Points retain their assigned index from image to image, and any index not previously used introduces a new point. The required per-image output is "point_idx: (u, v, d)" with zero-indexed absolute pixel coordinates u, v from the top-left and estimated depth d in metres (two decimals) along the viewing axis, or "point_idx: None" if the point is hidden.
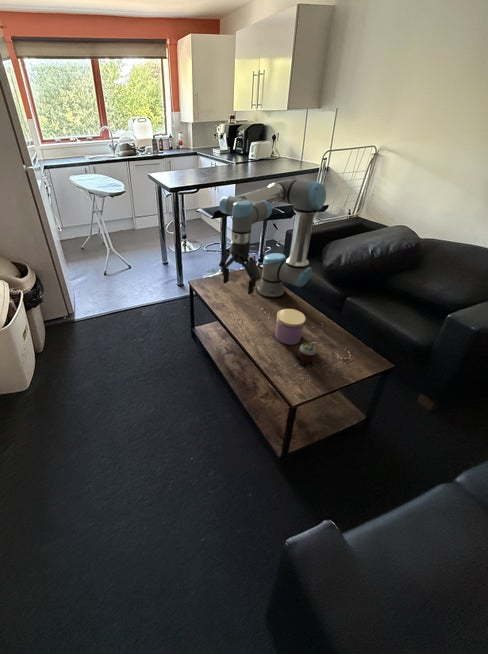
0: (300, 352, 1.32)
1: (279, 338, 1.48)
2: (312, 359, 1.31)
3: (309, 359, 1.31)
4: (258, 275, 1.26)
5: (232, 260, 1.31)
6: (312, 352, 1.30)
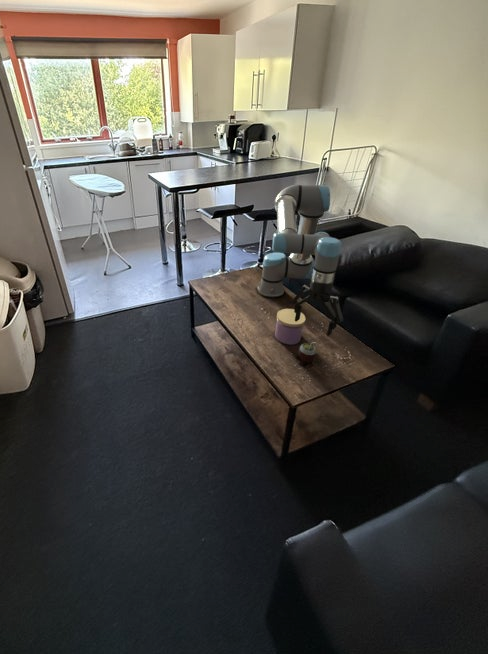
0: (300, 352, 1.32)
1: (279, 338, 1.48)
2: (312, 359, 1.31)
3: (309, 359, 1.31)
4: (341, 317, 1.16)
5: None
6: (312, 352, 1.30)
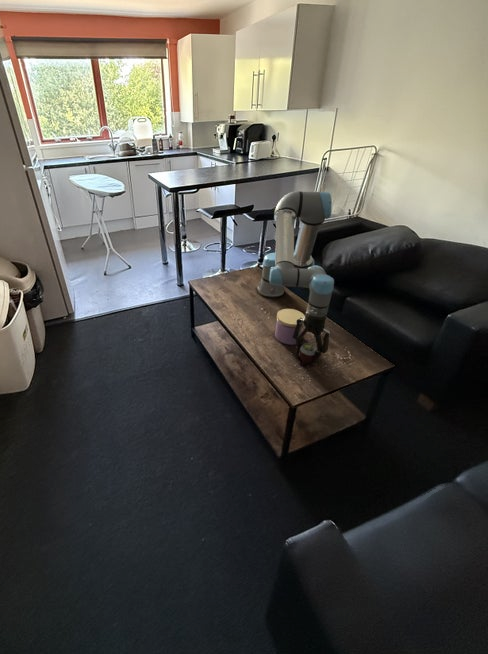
0: (300, 352, 1.32)
1: (279, 338, 1.48)
2: (313, 359, 1.31)
3: (310, 359, 1.31)
4: (327, 348, 1.26)
5: (306, 331, 1.27)
6: (313, 352, 1.30)
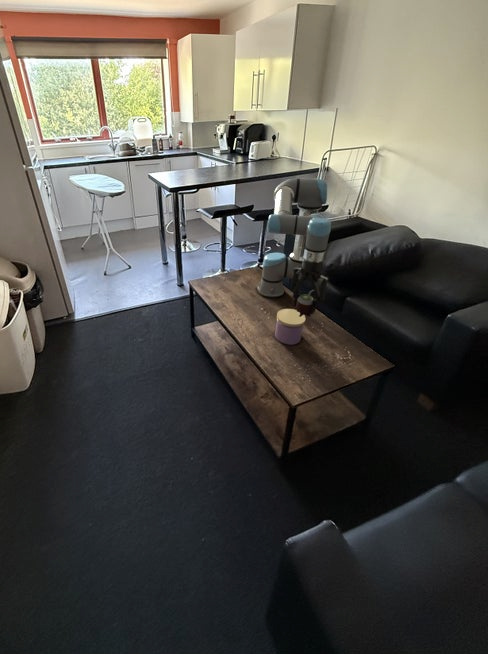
0: (298, 303, 1.31)
1: (279, 338, 1.48)
2: (310, 309, 1.30)
3: (307, 309, 1.29)
4: (324, 296, 1.24)
5: (303, 279, 1.26)
6: (310, 302, 1.28)
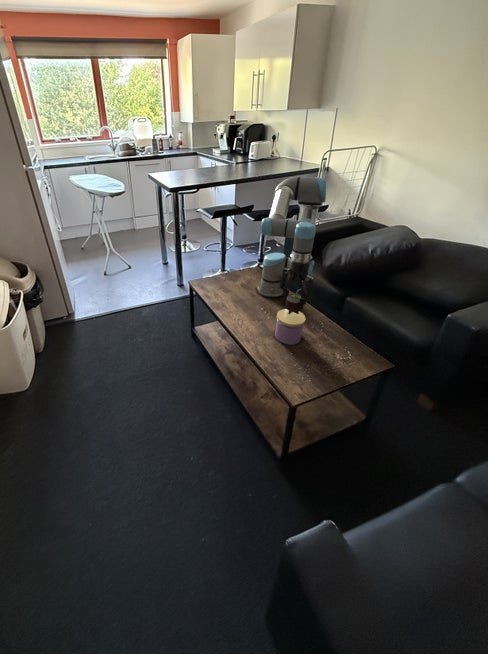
0: (287, 301, 1.40)
1: (279, 338, 1.48)
2: (298, 307, 1.39)
3: (295, 307, 1.39)
4: (311, 294, 1.34)
5: (291, 279, 1.36)
6: (298, 300, 1.38)
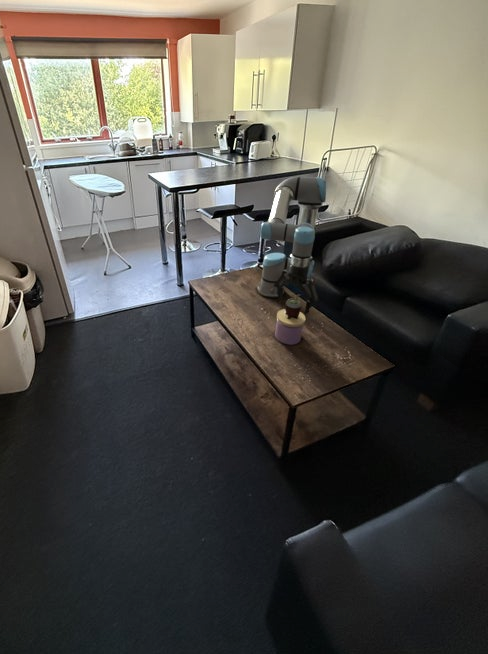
0: (286, 306, 1.42)
1: (279, 338, 1.48)
2: (297, 312, 1.41)
3: (294, 312, 1.40)
4: (316, 297, 1.32)
5: None
6: (297, 305, 1.39)
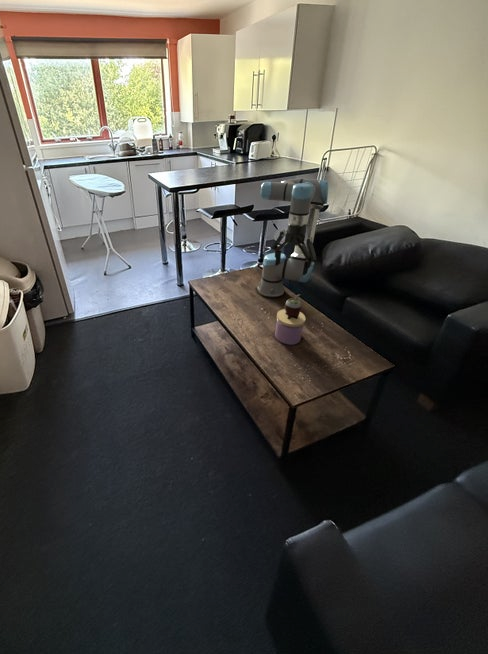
0: (286, 306, 1.42)
1: (279, 338, 1.48)
2: (297, 312, 1.41)
3: (294, 312, 1.40)
4: (314, 256, 1.31)
5: (287, 242, 1.35)
6: (297, 305, 1.39)
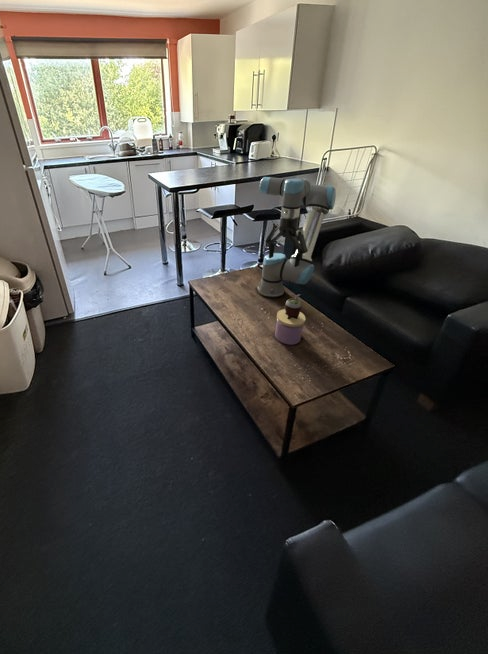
0: (286, 306, 1.42)
1: (279, 338, 1.48)
2: (297, 312, 1.41)
3: (294, 312, 1.40)
4: (305, 248, 1.37)
5: (280, 235, 1.41)
6: (297, 305, 1.39)
